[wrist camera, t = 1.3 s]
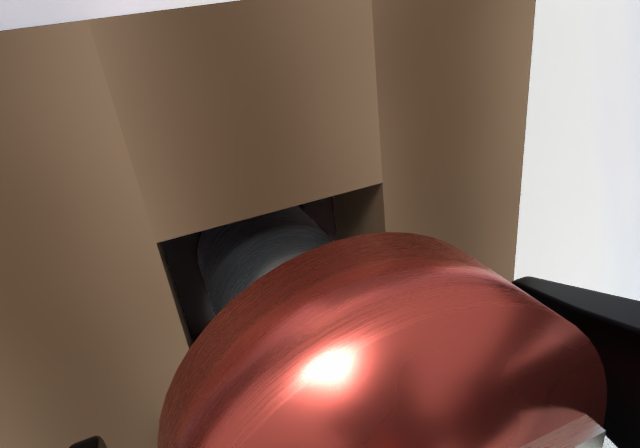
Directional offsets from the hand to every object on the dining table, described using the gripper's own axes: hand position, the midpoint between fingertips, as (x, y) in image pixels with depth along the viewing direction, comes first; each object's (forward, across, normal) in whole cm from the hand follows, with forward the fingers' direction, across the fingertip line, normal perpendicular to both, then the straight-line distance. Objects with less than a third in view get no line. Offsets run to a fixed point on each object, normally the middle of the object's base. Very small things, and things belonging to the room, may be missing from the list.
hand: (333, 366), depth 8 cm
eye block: (+5, 0, 0) cm, 5 cm away
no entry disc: (+5, 0, 0) cm, 5 cm away
